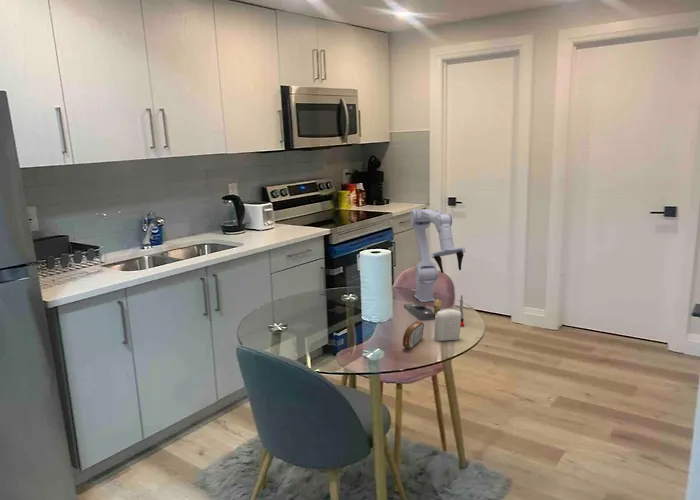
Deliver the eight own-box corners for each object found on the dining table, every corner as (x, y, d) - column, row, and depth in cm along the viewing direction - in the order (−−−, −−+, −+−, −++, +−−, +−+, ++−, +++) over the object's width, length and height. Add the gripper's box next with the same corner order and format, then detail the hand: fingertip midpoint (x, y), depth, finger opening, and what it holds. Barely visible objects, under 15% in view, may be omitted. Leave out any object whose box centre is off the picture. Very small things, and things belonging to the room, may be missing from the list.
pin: (432, 311, 242) (433, 299, 241) (438, 311, 243) (439, 298, 242) (435, 313, 240) (436, 301, 238) (441, 313, 240) (442, 300, 239)
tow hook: (442, 328, 225) (464, 327, 224) (442, 298, 222) (465, 298, 221) (440, 320, 233) (461, 320, 232) (440, 292, 230) (462, 292, 229)
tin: (417, 337, 214) (418, 317, 212) (424, 338, 213) (425, 318, 211) (401, 350, 202) (402, 329, 200) (409, 352, 200) (410, 331, 198)
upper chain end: (409, 311, 242) (410, 305, 241) (423, 310, 244) (424, 304, 243) (420, 320, 231) (420, 314, 231) (435, 318, 234) (435, 312, 233)
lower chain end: (403, 306, 248) (403, 303, 248) (417, 305, 250) (417, 301, 250) (415, 316, 236) (416, 312, 235) (430, 315, 238) (430, 311, 238)
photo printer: (456, 335, 216) (458, 307, 213) (461, 340, 212) (463, 310, 209) (432, 337, 213) (434, 308, 210) (436, 342, 209) (438, 312, 206)
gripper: (428, 242, 231) (432, 272, 228) (461, 235, 227) (466, 266, 223) (431, 245, 238) (435, 275, 234) (463, 239, 233) (469, 269, 230)
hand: (451, 271), depth 229 cm, fingers open, 7 cm apart
